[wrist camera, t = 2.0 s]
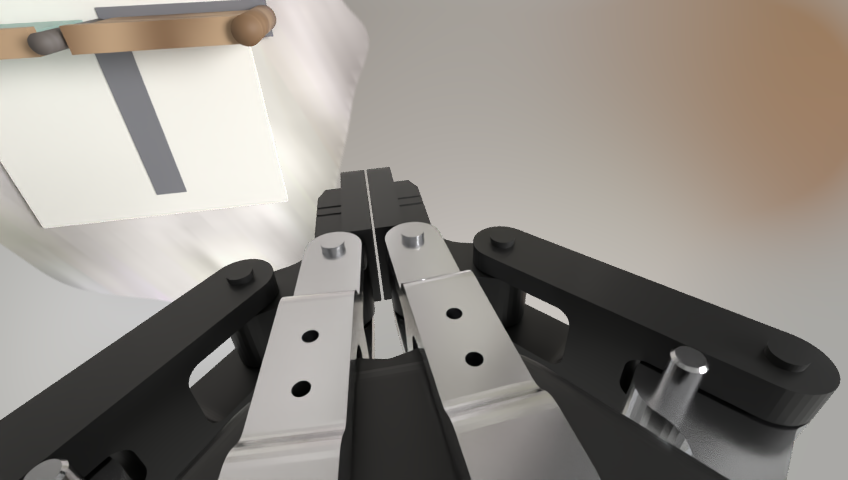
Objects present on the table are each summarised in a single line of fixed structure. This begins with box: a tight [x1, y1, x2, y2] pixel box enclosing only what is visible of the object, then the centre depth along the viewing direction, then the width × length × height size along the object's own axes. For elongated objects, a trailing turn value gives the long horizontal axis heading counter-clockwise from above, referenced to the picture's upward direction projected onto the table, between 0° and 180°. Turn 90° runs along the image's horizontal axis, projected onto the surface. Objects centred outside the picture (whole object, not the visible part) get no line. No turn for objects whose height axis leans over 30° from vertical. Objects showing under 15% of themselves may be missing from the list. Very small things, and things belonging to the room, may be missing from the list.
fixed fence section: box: [27, 5, 276, 55], centre depth 28 cm, size 13×2×8 cm, turn 92°
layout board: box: [0, 0, 288, 228], centre depth 33 cm, size 24×24×1 cm
